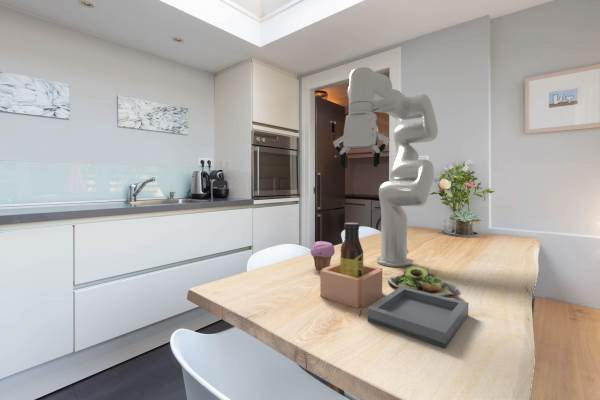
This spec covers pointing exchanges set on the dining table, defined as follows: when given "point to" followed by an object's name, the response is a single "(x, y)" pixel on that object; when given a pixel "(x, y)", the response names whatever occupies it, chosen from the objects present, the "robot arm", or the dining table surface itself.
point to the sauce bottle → (351, 252)
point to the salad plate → (423, 282)
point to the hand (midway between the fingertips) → (359, 167)
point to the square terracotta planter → (351, 285)
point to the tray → (420, 315)
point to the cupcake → (322, 254)
